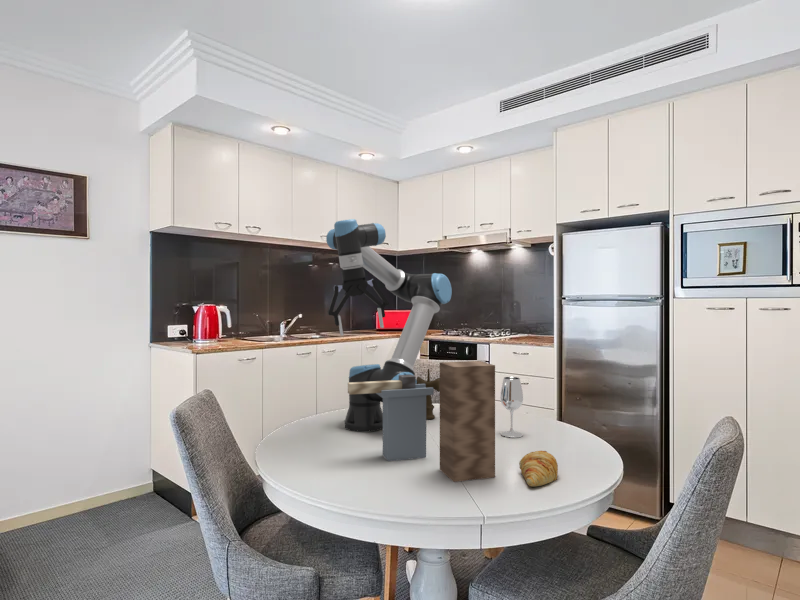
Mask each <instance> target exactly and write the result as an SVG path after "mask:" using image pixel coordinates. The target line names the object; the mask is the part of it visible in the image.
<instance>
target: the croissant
mask: <svg viewBox="0 0 800 600" xmlns="http://www.w3.org/2000/svg"><path fill="white" fill-rule="evenodd" d="M518 464H519V469H520V473H521V475H522V476H523V477H524V480H525V481H526V484H527V485H528V486H529V487H540V486H541V487H542V486H544V485H547V484H550V483H552V482H555V481H556V480H557V479H558V472H559V471H558V470H559V465H558V464H559V463H558V462H557V459H556V457H555V456H554V455H553V454H551V453H549V452H548V451H546V450H536V451H535V450H534V451H531V452H529V453H526V454H525V455H524V456H523V457H521V459H520V460H519V463H518Z"/></svg>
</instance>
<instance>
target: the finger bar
mask: <svg viewBox="0 0 800 600" xmlns="http://www.w3.org/2000/svg"><path fill="white" fill-rule="evenodd" d="M416 380H417V377H416V376H415V375H414V376H413V375H399V380H390V381H370V382H350V383H349V382H347V394H348V395H349V394H350V395H351V394H369V393H381V390H397V389H415V388H416Z"/></svg>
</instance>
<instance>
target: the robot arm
mask: <svg viewBox="0 0 800 600" xmlns="http://www.w3.org/2000/svg"><path fill="white" fill-rule="evenodd" d="M386 237H387V236H386V229H385V228H384V226H383V225H382V224H380V223H377V222H375V223H374V222H372V223H366V224H358V222H357V219H355V218H351V219H343V220H337V221H336V222H334V225H333V228H332V229H330V230H329V231H328V232H327V234H326V239H325V240H326V243H327V246H328V247H329V248H330V249H332V250H333V251H334V250H336V251H337V253H338V261H339V267H340V268H341V271H340V273H341V280H342V285H341V284H340V285H336V284H334V285H333V295H332V296H331V300H330V304H329V307H328V308H327V309H328V310H327V314H328V315H329V316H333V318H334V324H335V326H336V327H339V328H338V329H339V334H340V336H342V337H343V336H344V330H343V325H342V324H343V323H342V317H341V315H340V312H341V311H342V309H343V306H345V304H346V302H347V300H349V298H350V297H353V298H354V297H356V296H362V295H365V296H367V298H369V299H370V300H371V301H372V302H373V303H374V304H376V305H377V306H378V307H377V308H376V309H377V314H378V315H377V316H378V321H379V327H380V329H384V328H385V325H384V319H383V318H386V312H385V307H386V306H389V304H390V302H389V301H388V299H387V298H386V297H385V295H384V293H383V291H381V289H380V288H379V287H378V285H377V281H376V279H374V278H371V279H370V280H366V273H365V270H366V271H367V272H369V274H371V275H373V277H375V278H377V279H378V280H379V281H380V282H382V284H384V285H385V286H384V287H385V288H386V290H388V292H390V293H392V294H393V295H394V296H396V297H398V298H399V299H401V300H404V302H408V303H411V304H412V308H411V310H410V312H409V314H408V317H407V320H406V322H405V324H404V327H403V329H402V332H401V333H400V336H399V339H398V341H397V344H396V347H395V348H394V351H393V354H392V355H391V358H390V359H388V360H386V361H384V364H383V367H382V368H381V365H380V364H378V363H376V364H375V363H374V364H373V363H372V364H363V365H356V366H352V367H350V369H349V373H348V376H349V377H348V383H350V382H370V381H390V380H399V375H413V376H415V375H416V372H415V369H414V366H415V363H416V361H417V359H418V355H419V353H420V351H421V348H422V345H423V343H424V340H425V337H426V335H427V332H428V330H429V327H430V324H431V322H432V319H433V317H434V315H435V314H437V313H439V312H440V310H441V307H442V305H445V304H447V303H449V302H450V301H451V298H452V293H453V292H452V291H453V290H452V284H451V282H450V280H449V277H447V276H446V275H445V274H443V273H436V272H434V273H420V274H419V273H418V274H415V273H413V274H411V273H406V271H403V270H402V269H399V268H398V269H397V268H396V267H395V266H394V265H392V264H391V263H390V262H389V261H387V260H386V259H385V258H384V257H383V256H381V255H380V254H379V253H377V252H376V251H375V250H374V249H373V248H372V247H377V246H379V245H382V244H383V243H384V242H385V240H386ZM368 286H370V287H372V289H373V290H374V291H375V292H376V294H377V295H378V297H379V298H380V300H381V301H379V300H378V299H377V297H375V296H374V295H373V294H371V292H370V291H368V290H367V287H368ZM341 290H343V291H344V294H343V296H342V298H341V300H339V301H340V302H339V303H338V305H337V306H336V308H335V305H336V303H337V300H338V295H339V293H340V292H342V291H341ZM334 308H335V310H334ZM416 383H417V381H416ZM348 397H349V398H348V399H349V401H348V410H347V412H346V415H345V419H344V428H345V429H346V430H348V431H352V432H357V433H359V432H365V433H367V432H368V433H369V432H376V431H380V430H383V408H382V406H381V403H383V398H382V397H380V396H379V395H378V394H376V393H369V394H351V395H350V394H349V393H348Z"/></svg>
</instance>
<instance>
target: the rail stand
mask: <svg viewBox="0 0 800 600" xmlns="http://www.w3.org/2000/svg"><path fill="white" fill-rule="evenodd" d="M434 391H435V390H434V388H426V384H416V388H415V389H397V390H381V393H376V394H378V395H379V396H380V397H382V398H383V402H382V413H383V429H382V456H383V457H384V458H385V460H387V462H392V461H404V460H413V459H425V458H427V419H426V395H431V396H433V395H435V394H434V393H435V392H434Z"/></svg>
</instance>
